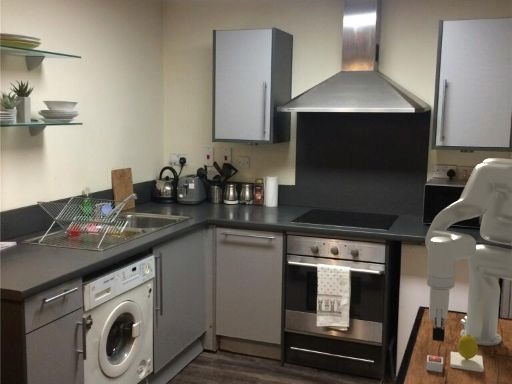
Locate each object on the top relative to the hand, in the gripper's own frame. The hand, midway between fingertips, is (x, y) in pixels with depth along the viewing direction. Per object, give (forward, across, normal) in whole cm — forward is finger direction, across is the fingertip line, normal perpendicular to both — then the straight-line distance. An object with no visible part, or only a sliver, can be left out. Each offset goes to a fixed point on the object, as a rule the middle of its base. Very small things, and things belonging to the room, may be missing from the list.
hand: (438, 339), depth 165 cm
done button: (+7, +1, -1) cm, 7 cm away
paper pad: (+9, -5, +8) cm, 13 cm away
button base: (+8, +1, -1) cm, 9 cm away
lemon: (+8, -5, +8) cm, 13 cm away
